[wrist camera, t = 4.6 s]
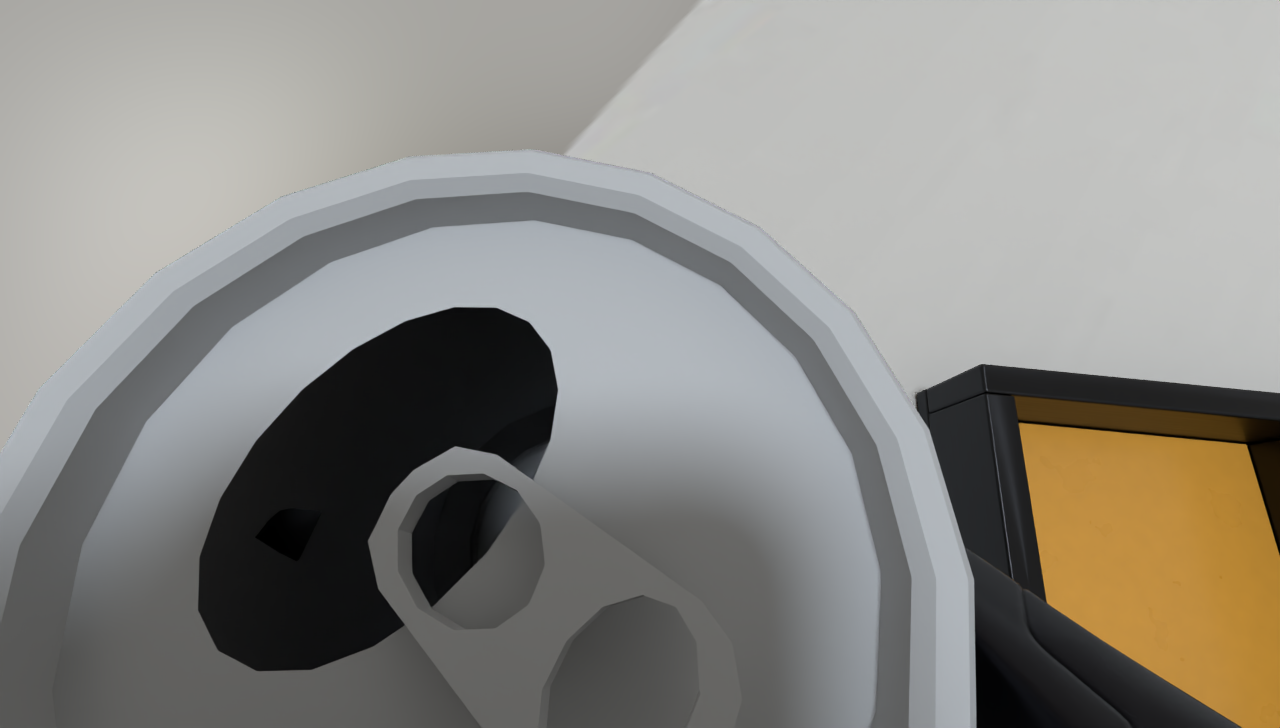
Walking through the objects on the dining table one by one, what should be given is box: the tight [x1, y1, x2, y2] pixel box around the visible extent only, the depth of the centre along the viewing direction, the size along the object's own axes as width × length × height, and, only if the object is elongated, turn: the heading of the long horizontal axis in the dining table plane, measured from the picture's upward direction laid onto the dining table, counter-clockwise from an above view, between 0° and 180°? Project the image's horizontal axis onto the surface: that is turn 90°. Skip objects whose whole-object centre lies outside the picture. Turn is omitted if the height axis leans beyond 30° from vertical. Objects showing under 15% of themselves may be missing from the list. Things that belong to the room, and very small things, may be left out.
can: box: [0, 149, 976, 728], centre depth 9 cm, size 8×8×12 cm
